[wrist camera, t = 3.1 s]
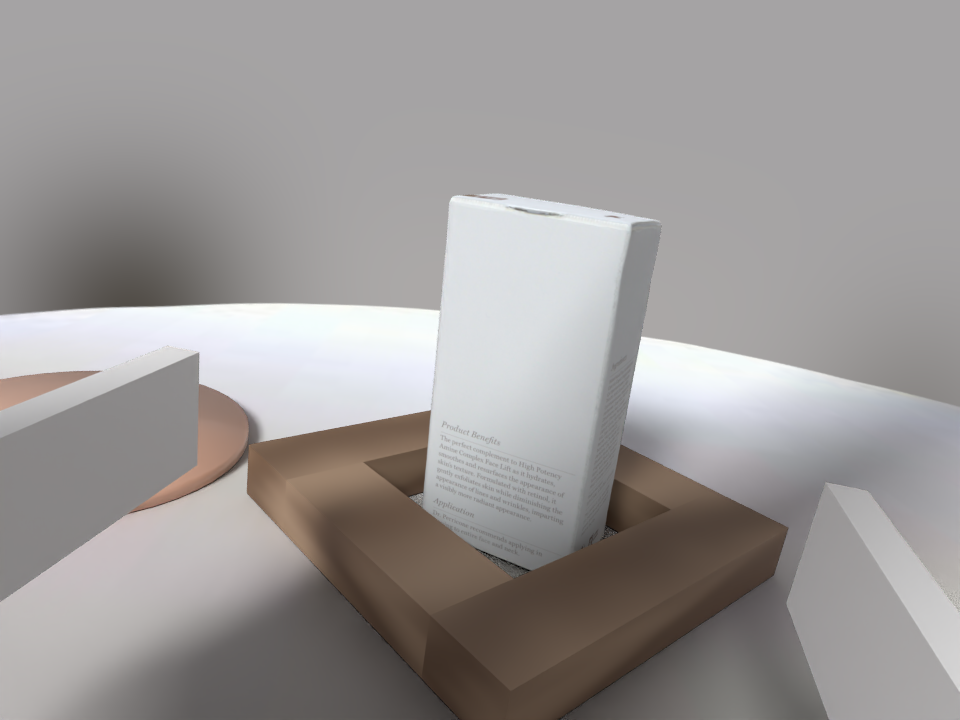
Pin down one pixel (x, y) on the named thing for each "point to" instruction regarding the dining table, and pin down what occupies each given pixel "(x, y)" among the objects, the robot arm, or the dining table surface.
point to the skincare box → (534, 371)
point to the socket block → (491, 591)
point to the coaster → (216, 429)
